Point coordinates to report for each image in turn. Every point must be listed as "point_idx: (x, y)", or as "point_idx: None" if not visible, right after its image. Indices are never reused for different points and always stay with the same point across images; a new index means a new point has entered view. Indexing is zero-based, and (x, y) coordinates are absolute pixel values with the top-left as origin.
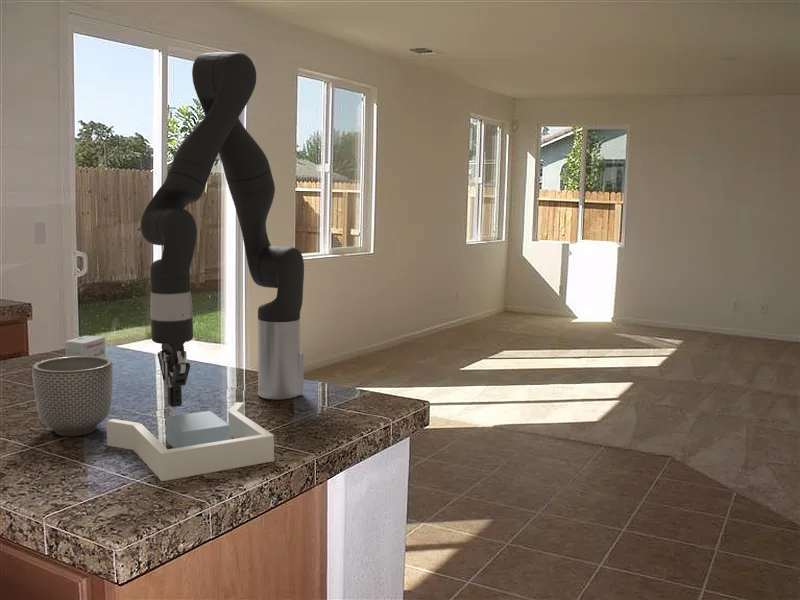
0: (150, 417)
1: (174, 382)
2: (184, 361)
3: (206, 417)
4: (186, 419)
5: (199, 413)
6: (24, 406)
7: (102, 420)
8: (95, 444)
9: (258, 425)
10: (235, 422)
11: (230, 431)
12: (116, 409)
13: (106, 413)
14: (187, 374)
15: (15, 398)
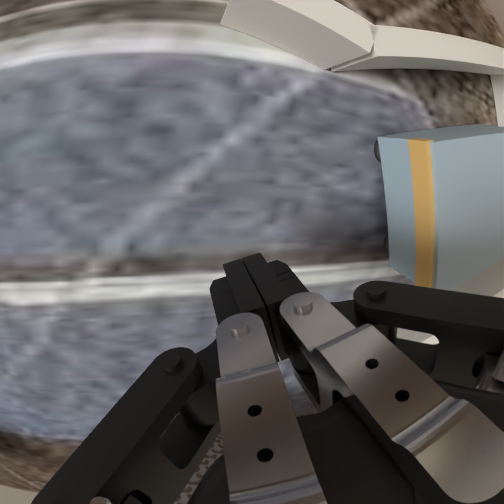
0: (73, 321)
1: (415, 348)
2: (449, 399)
3: (481, 172)
4: (476, 236)
5: (448, 188)
6: (45, 484)
7: (220, 433)
8: (299, 403)
9: (498, 47)
10: (417, 60)
11: (354, 67)
12: (18, 390)
13: (219, 441)
14: (488, 300)
15: (13, 483)
